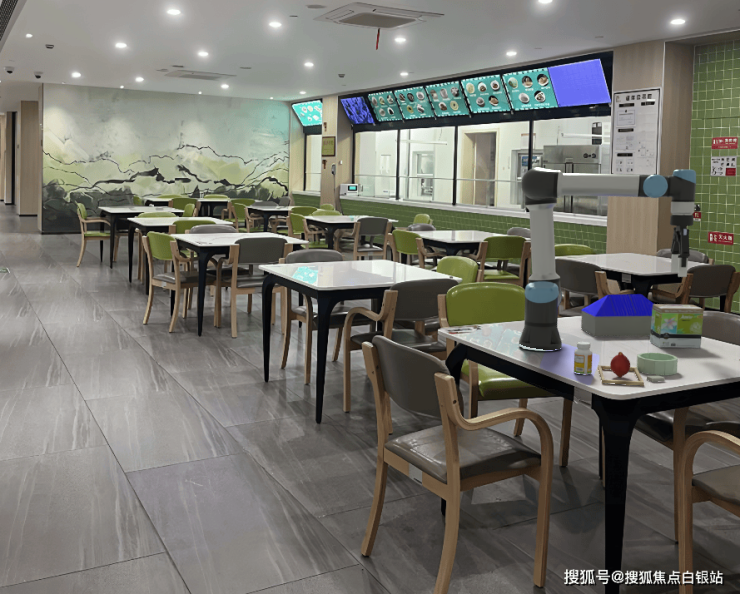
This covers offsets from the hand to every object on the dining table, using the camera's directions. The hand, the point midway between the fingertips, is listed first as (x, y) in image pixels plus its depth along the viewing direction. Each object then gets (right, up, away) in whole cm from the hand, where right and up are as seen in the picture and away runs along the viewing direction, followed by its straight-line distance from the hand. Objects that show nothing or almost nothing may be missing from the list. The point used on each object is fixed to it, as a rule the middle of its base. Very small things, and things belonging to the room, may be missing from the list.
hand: (678, 274), depth 257 cm
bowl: (-19, -31, -28) cm, 46 cm away
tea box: (+2, -26, +8) cm, 27 cm away
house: (-10, -23, +34) cm, 42 cm away
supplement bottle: (-43, -32, -31) cm, 62 cm away
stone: (-24, -33, -40) cm, 58 cm away
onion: (-33, -33, -36) cm, 59 cm away
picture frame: (-33, -32, -36) cm, 59 cm away
